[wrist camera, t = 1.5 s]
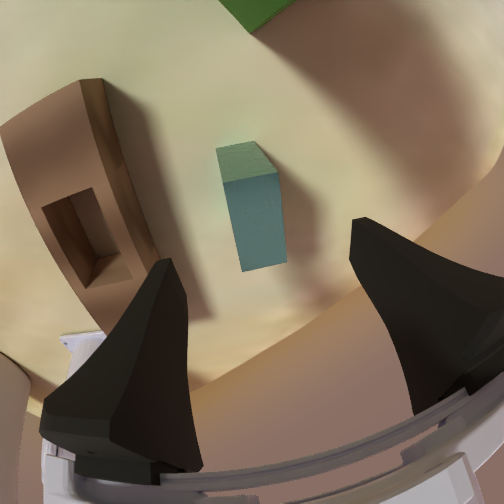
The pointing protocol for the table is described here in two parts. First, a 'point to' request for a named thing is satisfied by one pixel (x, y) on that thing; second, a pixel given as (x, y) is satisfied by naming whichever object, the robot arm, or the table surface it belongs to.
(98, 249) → the table surface
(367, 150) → the table surface
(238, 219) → the teal rectangular block
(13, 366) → the cylinder vase
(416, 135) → the table surface
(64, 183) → the slotted beam
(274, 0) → the hardback book
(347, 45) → the table surface
